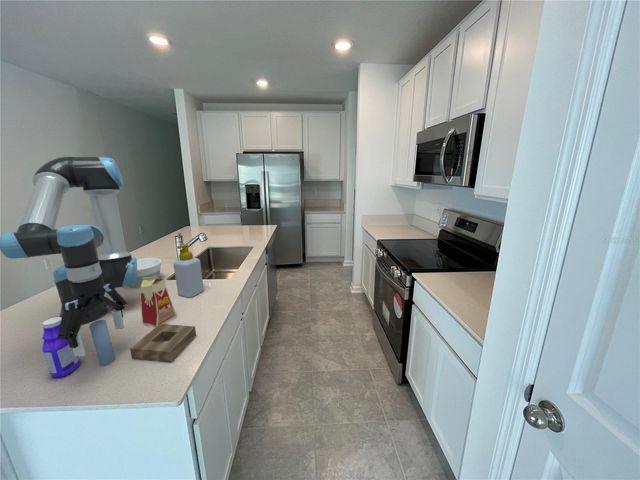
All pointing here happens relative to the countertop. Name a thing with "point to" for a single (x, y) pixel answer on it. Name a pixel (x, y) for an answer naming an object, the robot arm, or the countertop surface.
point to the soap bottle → (188, 273)
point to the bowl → (146, 270)
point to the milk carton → (156, 302)
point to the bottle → (57, 350)
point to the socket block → (157, 349)
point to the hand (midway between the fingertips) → (101, 340)
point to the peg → (102, 342)
